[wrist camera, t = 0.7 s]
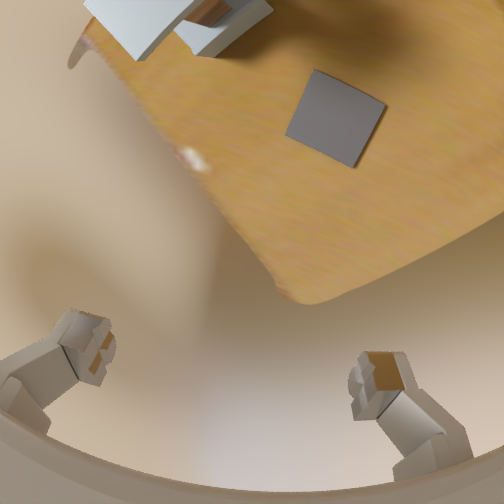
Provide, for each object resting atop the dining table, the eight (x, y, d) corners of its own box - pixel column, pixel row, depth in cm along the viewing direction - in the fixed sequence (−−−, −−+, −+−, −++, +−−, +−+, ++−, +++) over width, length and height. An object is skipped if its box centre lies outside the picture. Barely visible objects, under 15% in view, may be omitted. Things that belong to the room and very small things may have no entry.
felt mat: (314, 69, 37) (314, 69, 37) (384, 104, 37) (385, 105, 37) (285, 134, 45) (284, 135, 44) (352, 167, 44) (352, 168, 44)
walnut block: (232, 8, 30) (202, -8, 22) (209, 28, 32) (175, 17, 24) (213, -9, 29) (180, -27, 21) (192, 10, 31) (155, -2, 23)
